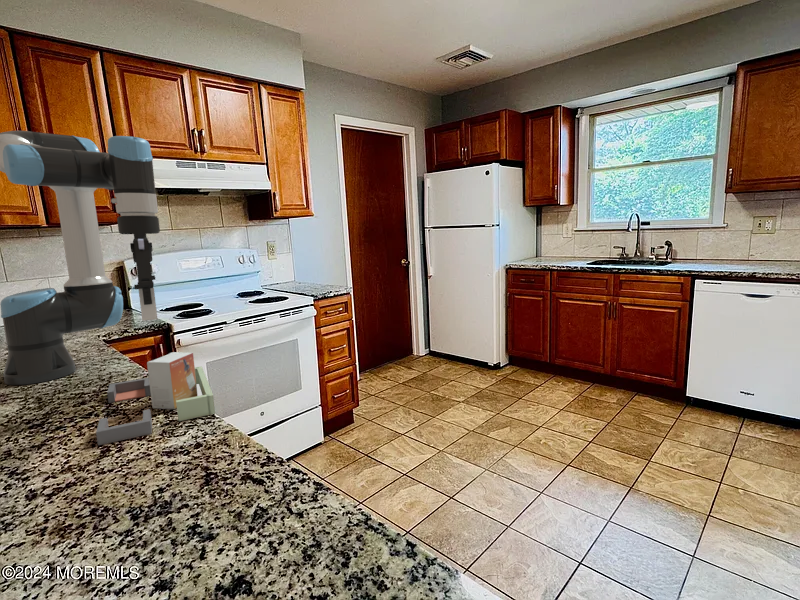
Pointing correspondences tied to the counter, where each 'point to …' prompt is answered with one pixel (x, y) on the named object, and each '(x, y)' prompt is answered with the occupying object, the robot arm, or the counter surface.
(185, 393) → the small box
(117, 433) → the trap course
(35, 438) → the counter surface
